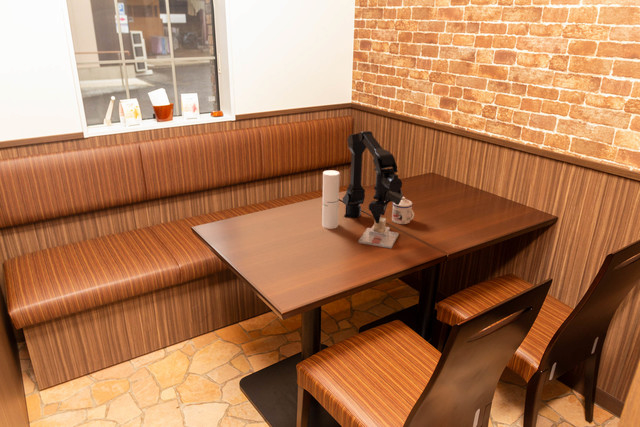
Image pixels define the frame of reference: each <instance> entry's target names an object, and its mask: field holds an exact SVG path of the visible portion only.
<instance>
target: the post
mask: <svg viewBox="0 0 640 427" xmlns="http://www.w3.org/2000/svg"><path fill="white" fill-rule="evenodd" d="M373 220H374V222H373V223H374V224H373V225H374V231H379V232H384V231H385V227H387V226H386V223H387V217H380V221H379V223H376V222H375V219H373Z"/></svg>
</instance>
